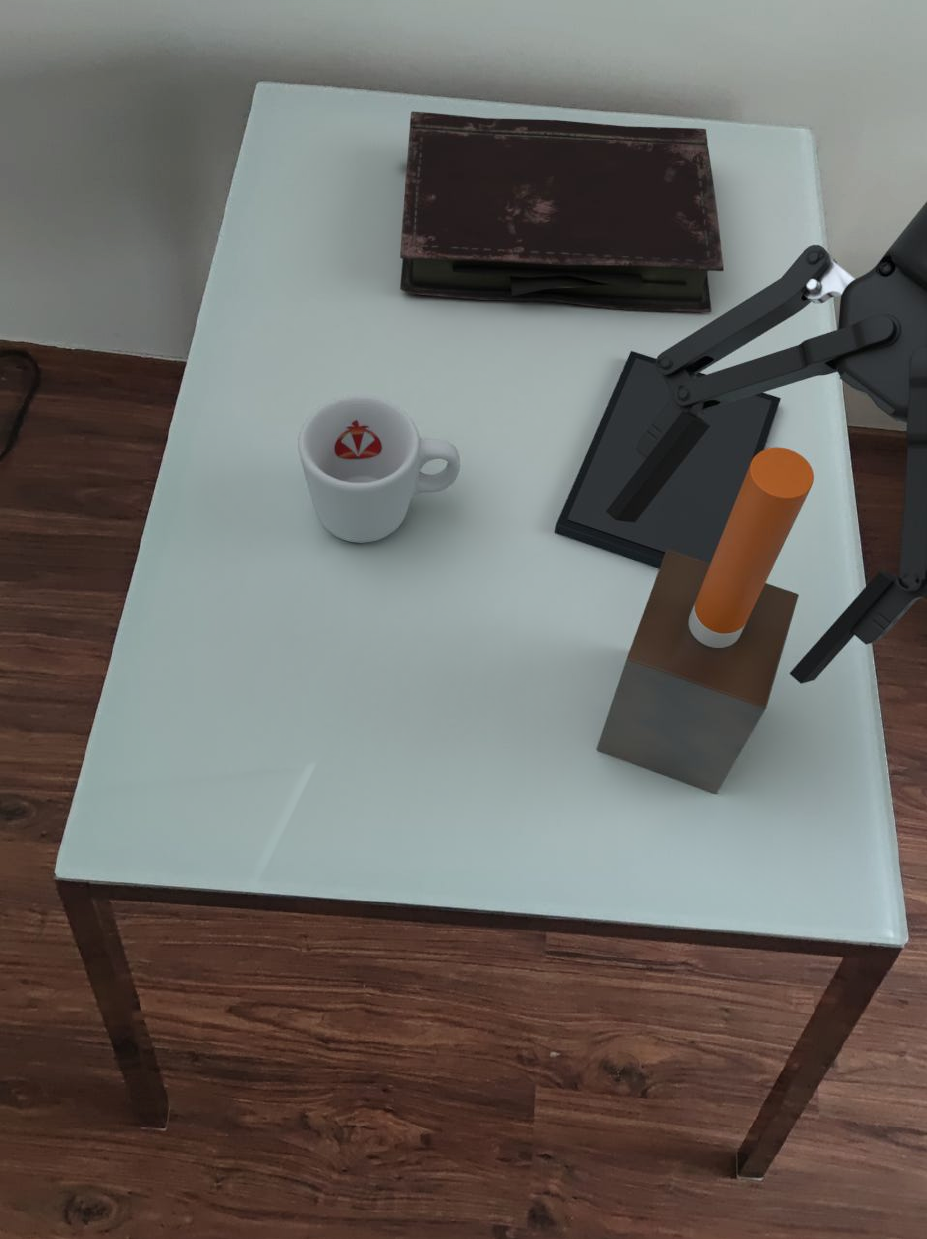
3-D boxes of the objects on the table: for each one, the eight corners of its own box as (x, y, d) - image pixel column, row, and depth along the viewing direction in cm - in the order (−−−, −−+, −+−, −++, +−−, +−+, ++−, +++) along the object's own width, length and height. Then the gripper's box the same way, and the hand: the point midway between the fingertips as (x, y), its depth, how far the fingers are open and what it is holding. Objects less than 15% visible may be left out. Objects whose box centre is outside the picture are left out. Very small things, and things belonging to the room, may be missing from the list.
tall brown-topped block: (747, 690, 80) (799, 593, 70) (716, 794, 76) (766, 708, 66) (632, 649, 82) (666, 548, 71) (595, 750, 78) (626, 658, 67)
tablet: (777, 406, 93) (781, 396, 92) (716, 588, 85) (720, 580, 84) (628, 359, 95) (631, 349, 94) (554, 532, 86) (555, 523, 85)
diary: (410, 152, 107) (411, 101, 102) (694, 168, 107) (706, 118, 103) (399, 305, 97) (399, 257, 93) (710, 322, 98) (725, 275, 93)
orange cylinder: (746, 613, 69) (820, 459, 57) (733, 655, 68) (806, 506, 56) (696, 596, 70) (759, 438, 58) (682, 637, 68) (743, 485, 56)
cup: (449, 460, 89) (454, 386, 82) (464, 549, 85) (470, 479, 78) (301, 471, 88) (294, 397, 81) (309, 562, 84) (302, 492, 77)
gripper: (1238, 401, 54) (907, 748, 62) (820, 125, 63) (574, 457, 70) (1249, 376, 48) (878, 767, 55) (782, 72, 57) (515, 444, 64)
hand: (707, 594), depth 63 cm, fingers open, 12 cm apart
